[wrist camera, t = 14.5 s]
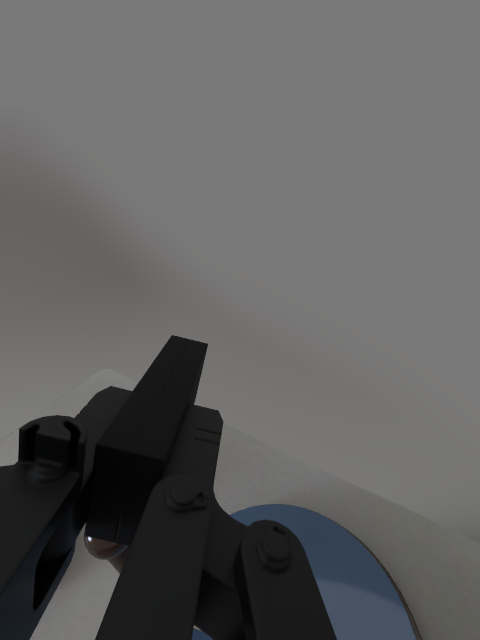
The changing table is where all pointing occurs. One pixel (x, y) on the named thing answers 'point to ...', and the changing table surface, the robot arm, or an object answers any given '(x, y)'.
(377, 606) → the blue disc with post
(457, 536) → the changing table surface
